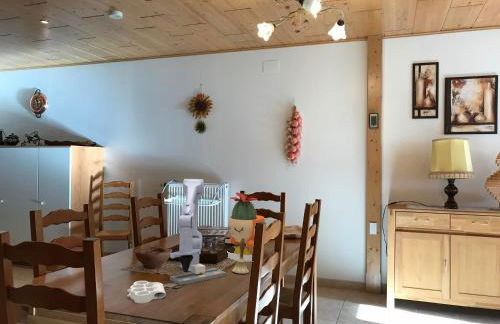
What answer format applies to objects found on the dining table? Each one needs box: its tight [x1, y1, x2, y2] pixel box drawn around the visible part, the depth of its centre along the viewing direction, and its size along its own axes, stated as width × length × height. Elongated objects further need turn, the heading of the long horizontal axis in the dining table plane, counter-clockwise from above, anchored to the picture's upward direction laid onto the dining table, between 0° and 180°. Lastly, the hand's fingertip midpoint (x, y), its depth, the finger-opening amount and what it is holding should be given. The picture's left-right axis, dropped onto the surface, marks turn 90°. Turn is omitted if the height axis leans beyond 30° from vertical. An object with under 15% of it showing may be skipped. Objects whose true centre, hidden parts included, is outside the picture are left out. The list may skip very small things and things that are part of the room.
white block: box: [190, 263, 206, 274], centre depth 187 cm, size 7×5×3 cm
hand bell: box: [231, 238, 250, 275], centre depth 198 cm, size 8×8×16 cm
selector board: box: [169, 267, 227, 286], centre depth 187 cm, size 9×24×2 cm, turn 128°
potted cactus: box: [227, 192, 266, 263], centre depth 228 cm, size 22×22×35 cm
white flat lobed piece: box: [126, 280, 166, 304], centre depth 164 cm, size 3×18×15 cm
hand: (185, 271), depth 184 cm, fingers closed
